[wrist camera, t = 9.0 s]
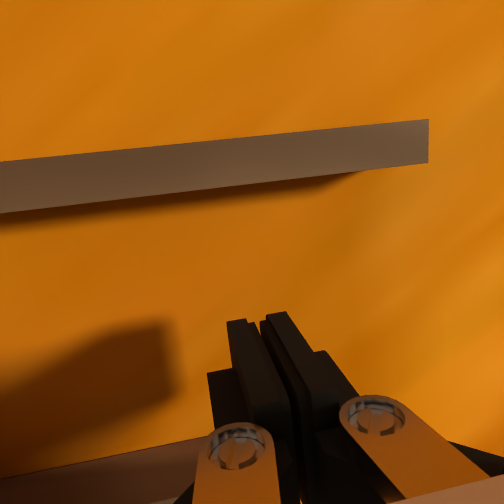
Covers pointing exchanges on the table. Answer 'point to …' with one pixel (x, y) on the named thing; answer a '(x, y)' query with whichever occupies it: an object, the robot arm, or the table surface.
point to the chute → (172, 181)
